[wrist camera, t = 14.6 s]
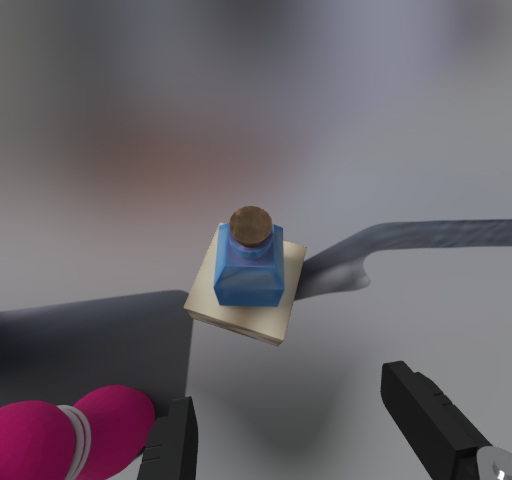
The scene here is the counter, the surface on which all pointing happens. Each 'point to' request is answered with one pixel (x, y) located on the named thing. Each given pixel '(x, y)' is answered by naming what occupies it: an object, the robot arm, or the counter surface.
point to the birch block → (246, 317)
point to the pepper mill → (74, 436)
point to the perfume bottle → (249, 260)
